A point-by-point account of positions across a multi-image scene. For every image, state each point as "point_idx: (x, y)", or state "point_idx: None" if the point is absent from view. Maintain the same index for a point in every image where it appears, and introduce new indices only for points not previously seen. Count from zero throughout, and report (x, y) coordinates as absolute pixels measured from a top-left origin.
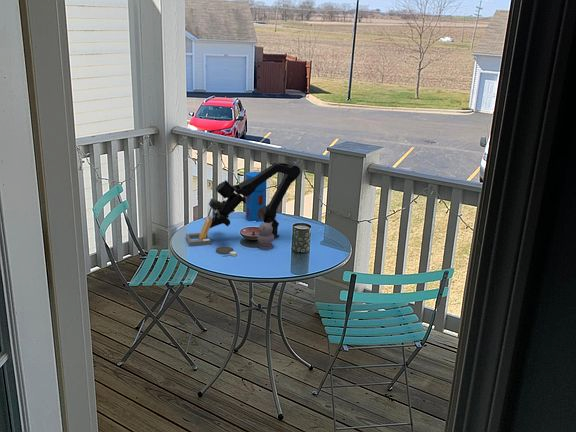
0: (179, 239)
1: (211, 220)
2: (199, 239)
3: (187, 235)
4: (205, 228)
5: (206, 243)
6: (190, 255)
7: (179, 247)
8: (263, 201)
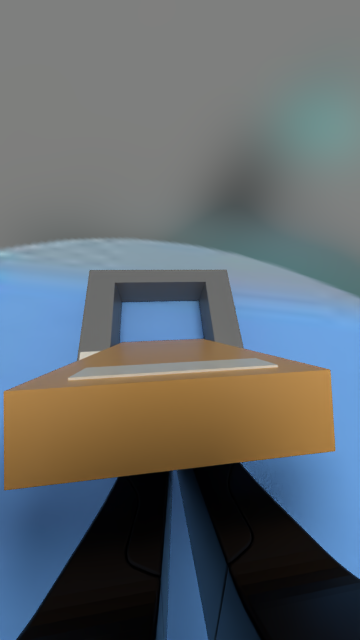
0: (222, 265)
1: (23, 459)
2: None
3: (201, 274)
4: (108, 353)
5: None
6: (4, 285)
7: (126, 255)
8: None
